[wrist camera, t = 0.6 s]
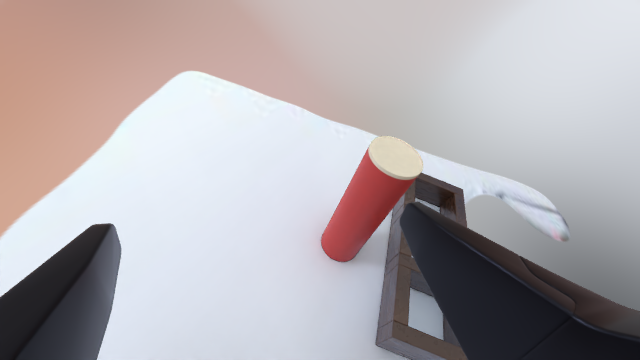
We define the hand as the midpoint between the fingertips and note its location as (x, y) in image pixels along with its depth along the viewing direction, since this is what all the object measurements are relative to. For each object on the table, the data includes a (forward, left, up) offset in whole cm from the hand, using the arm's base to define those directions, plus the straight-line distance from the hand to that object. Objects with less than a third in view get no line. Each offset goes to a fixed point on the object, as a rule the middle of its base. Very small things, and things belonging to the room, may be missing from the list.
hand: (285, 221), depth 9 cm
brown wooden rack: (+1, -18, -16) cm, 24 cm away
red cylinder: (+5, -10, -16) cm, 20 cm away
